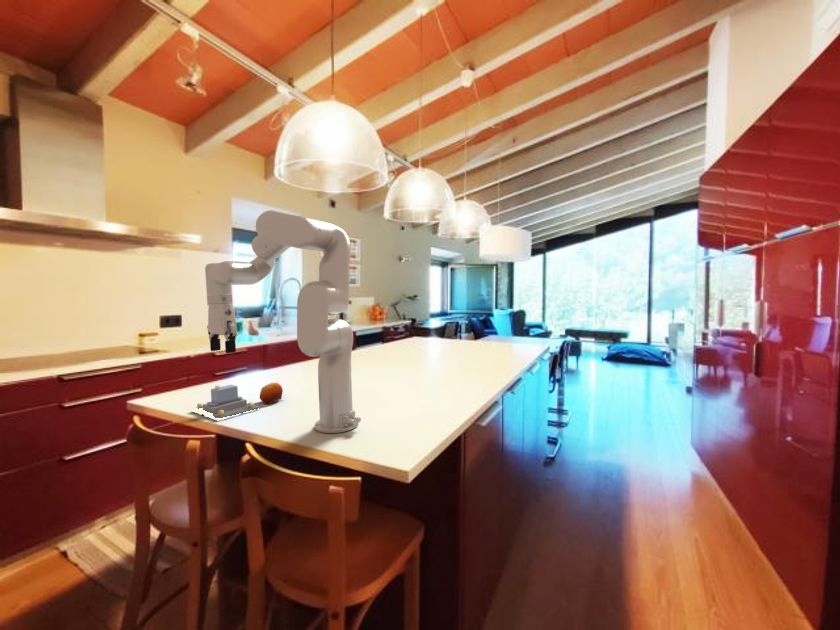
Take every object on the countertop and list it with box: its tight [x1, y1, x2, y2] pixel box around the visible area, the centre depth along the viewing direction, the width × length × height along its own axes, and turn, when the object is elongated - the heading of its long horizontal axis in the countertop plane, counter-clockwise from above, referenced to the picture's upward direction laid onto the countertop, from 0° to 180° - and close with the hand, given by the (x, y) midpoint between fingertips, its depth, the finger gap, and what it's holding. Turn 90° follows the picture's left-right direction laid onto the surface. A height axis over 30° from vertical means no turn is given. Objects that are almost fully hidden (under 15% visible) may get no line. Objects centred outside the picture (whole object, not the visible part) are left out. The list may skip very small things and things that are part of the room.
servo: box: [206, 384, 243, 407], centre depth 132 cm, size 4×10×8 cm, turn 144°
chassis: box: [196, 398, 260, 418], centre depth 133 cm, size 18×14×3 cm
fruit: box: [259, 382, 284, 404], centre depth 142 cm, size 8×8×8 cm
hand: (223, 351), depth 131 cm, fingers open, 9 cm apart
